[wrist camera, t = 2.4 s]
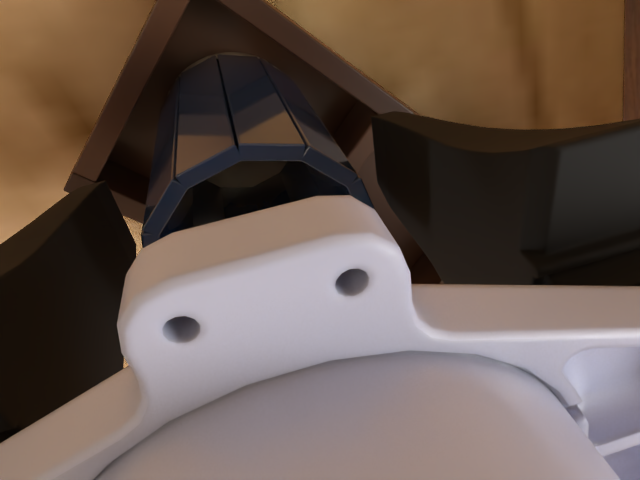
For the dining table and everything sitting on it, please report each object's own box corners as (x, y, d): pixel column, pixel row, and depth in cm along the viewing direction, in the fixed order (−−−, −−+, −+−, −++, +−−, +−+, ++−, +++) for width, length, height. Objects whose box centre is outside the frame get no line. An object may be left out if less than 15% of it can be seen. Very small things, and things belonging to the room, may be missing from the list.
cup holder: (389, 299, 23) (408, 334, 21) (78, 158, 16) (62, 190, 14) (498, 173, 21) (532, 200, 19) (185, -60, 14) (184, -58, 12)
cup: (136, 149, 16) (101, 299, 10) (206, 19, 14) (221, 92, 8) (258, 209, 18) (297, 362, 12) (331, 103, 17) (422, 213, 10)
